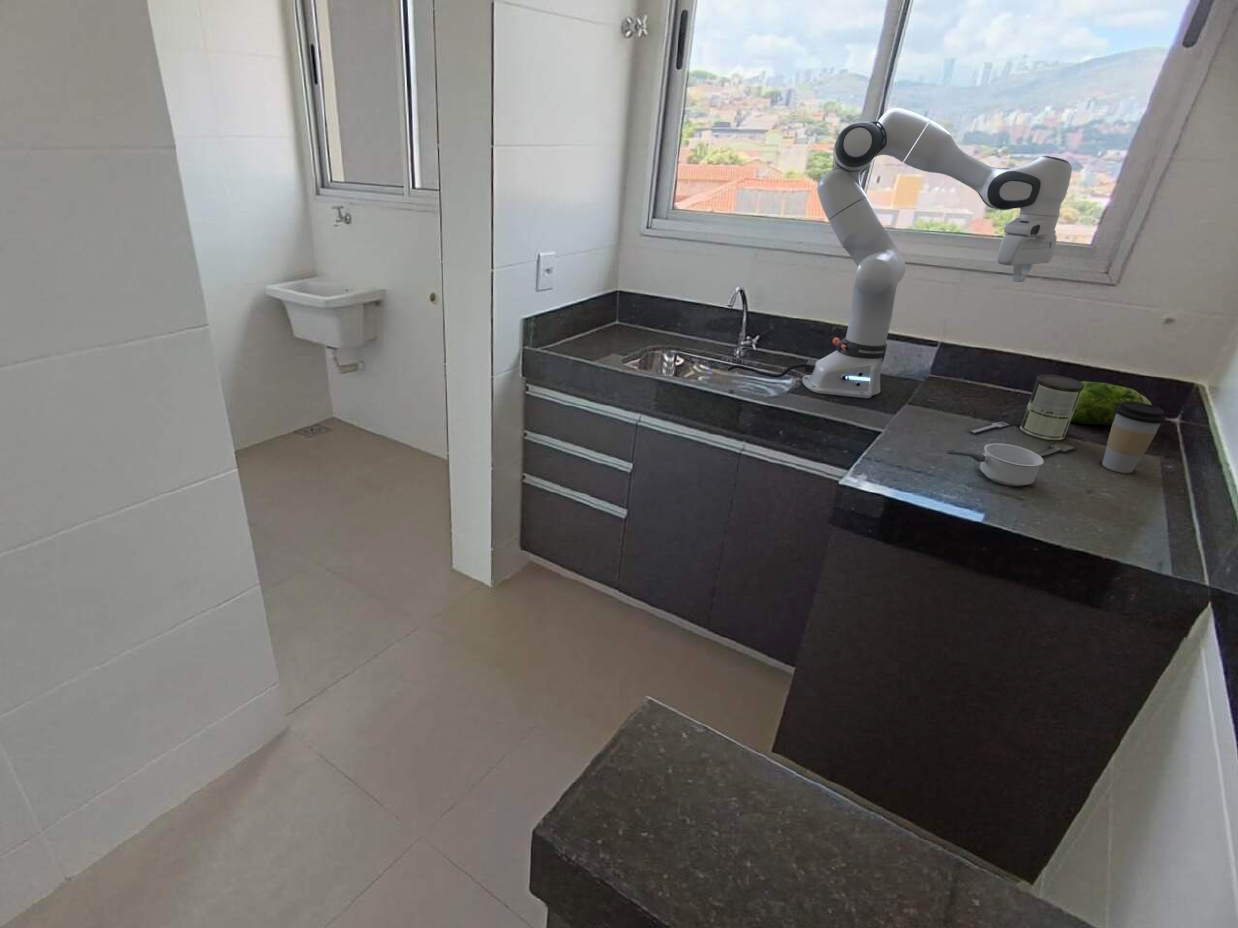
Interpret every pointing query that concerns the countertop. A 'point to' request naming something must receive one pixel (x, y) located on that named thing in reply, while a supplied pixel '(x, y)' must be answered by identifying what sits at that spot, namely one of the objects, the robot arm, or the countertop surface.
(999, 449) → the saucepan
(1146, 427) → the coffee cup
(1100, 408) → the green oval lump
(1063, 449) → the spoon
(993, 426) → the fork
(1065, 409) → the coffee can
